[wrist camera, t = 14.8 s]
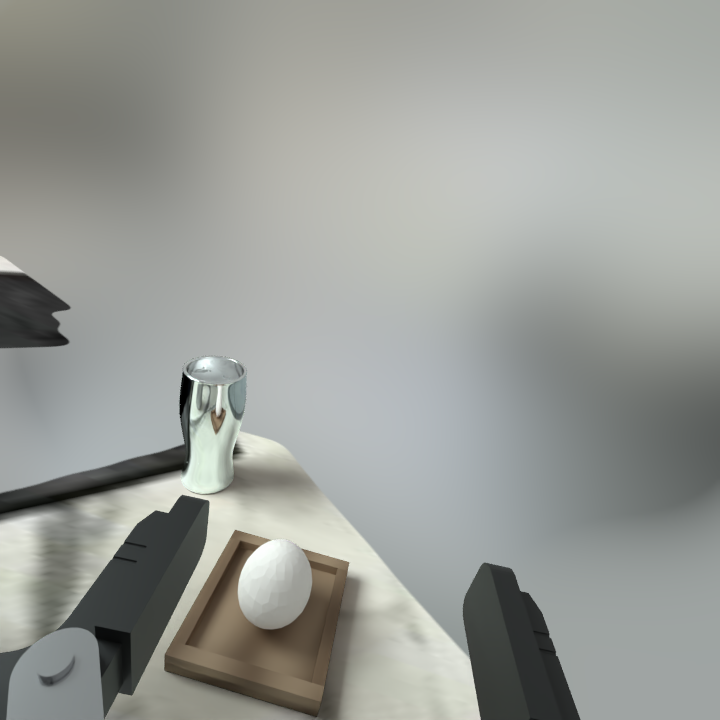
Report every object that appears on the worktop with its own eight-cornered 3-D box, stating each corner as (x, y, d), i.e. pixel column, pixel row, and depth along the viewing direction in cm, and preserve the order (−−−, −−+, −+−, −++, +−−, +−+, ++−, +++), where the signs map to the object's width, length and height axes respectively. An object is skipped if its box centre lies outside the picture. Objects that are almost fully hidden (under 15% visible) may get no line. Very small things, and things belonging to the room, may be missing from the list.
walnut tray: (164, 670, 30) (164, 654, 29) (233, 543, 41) (235, 529, 40) (316, 716, 29) (321, 702, 29) (345, 575, 40) (349, 562, 40)
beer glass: (191, 453, 52) (196, 349, 46) (244, 463, 52) (256, 361, 46) (166, 491, 45) (168, 376, 39) (226, 502, 46) (238, 390, 40)
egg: (218, 616, 33) (225, 553, 30) (268, 567, 38) (278, 508, 35) (272, 665, 31) (285, 602, 28) (318, 605, 36) (333, 546, 33)
